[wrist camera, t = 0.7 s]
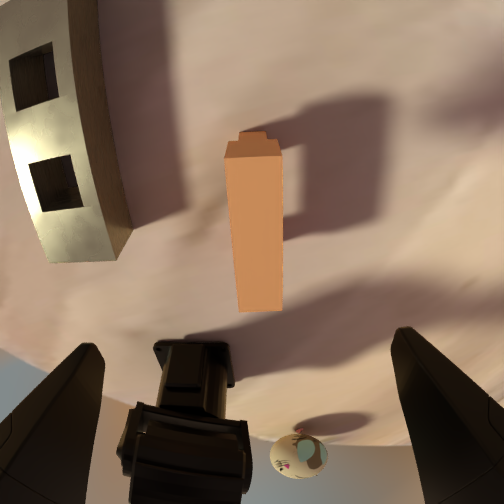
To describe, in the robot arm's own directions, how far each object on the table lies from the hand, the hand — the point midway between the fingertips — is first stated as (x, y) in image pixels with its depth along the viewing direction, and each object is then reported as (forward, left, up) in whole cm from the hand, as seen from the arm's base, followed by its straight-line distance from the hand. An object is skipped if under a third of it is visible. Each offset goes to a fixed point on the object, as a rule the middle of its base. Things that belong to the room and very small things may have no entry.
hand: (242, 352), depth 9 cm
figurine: (-33, -5, -12) cm, 35 cm away
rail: (+5, +10, -12) cm, 16 cm away
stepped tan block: (-1, -1, -12) cm, 12 cm away
